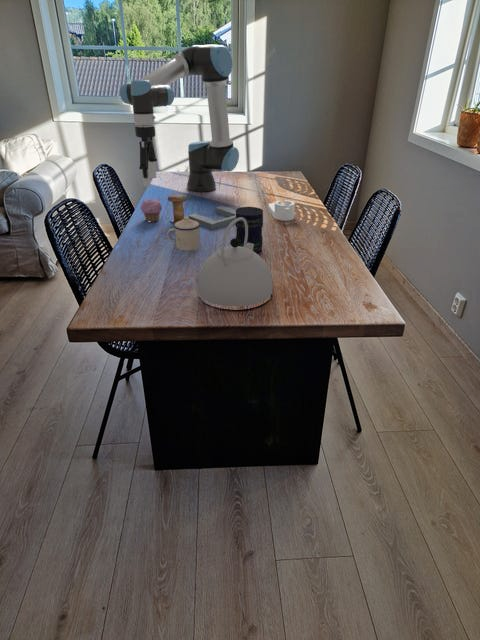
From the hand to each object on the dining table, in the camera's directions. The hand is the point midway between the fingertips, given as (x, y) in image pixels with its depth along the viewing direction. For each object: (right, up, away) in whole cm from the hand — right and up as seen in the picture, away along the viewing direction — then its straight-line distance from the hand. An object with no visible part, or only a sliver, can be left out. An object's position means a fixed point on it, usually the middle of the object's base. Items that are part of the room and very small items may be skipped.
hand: (150, 182), depth 181 cm
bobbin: (+11, -15, +9) cm, 20 cm away
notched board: (+27, -13, +11) cm, 32 cm away
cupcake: (-1, -15, +9) cm, 17 cm away
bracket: (+55, -8, +20) cm, 59 cm away
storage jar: (+40, -31, -18) cm, 54 cm away
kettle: (+36, -48, -45) cm, 75 cm away
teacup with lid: (+16, -30, -16) cm, 37 cm away
